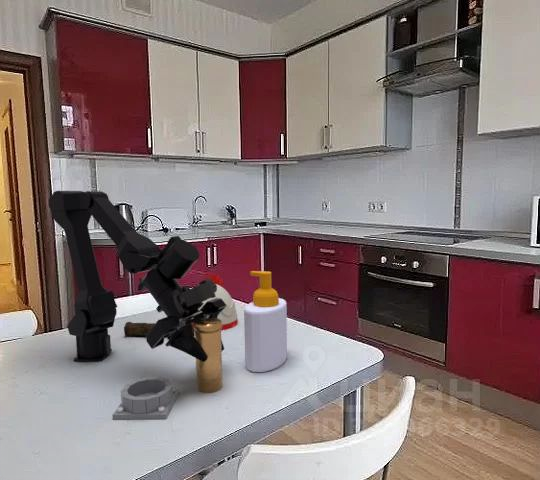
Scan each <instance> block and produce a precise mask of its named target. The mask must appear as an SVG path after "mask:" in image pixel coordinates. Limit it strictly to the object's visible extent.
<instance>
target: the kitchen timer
mask: <svg viewBox="0 0 540 480" xmlns="http://www.w3.org/2000/svg"><path fill="white" fill-rule="evenodd" d="M208 278H210V279H211V280H212V281H213V282H214V283H215V284H216V285H217V291H216V292H215V295H216V297H214V298H209V299H207V300H205V301H203V305H202V306H201V307H200V308H199V309H198V310H200V309H201V308H202V307H203V306H204V305H205V303H206V302H207V301H210V300H213V299H215V298H220V299H222V300H223V301H224V303H225V304H226V305H227V306H226V307H225V309H224V310H223V311H222V312H221V313H220V314H219V315H218V317H217V319H220V320H221V321H222V329H221V331H227V330H229V329H233V328H234V327H236V326H237V325H238V320H239V319H238V313H237V309H236V302H235V301H234V299H233V298H232V296H231V295H230V293H229V292H228V291H227V290H226V289H225V288H224V287H223V282H224V279H223V278H221V277H220V276H219V275H217V273H214V272H213V273H209V275H205V276H204V280H205V279H208ZM192 319H193V318H192ZM192 326H193V328H194V324H192Z"/></svg>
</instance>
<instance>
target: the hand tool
mask: <svg viewBox="0 0 540 480" xmlns="http://www.w3.org/2000/svg"><path fill="white" fill-rule="evenodd" d="M155 323H156V322H154V323H153V322H152V323H151V322H150V323H149V322H148V323H147V322H131V321H127V322H125V324H124V327H123V333H124V336H125V338H126V337H133V336H146V334H147V333H148V332H149V330H150V329H151V328H152V327H153V326H154V325H155ZM191 325H192V324H191ZM192 333H193V335H194V337H195V331H194V328H193V326H192Z"/></svg>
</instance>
